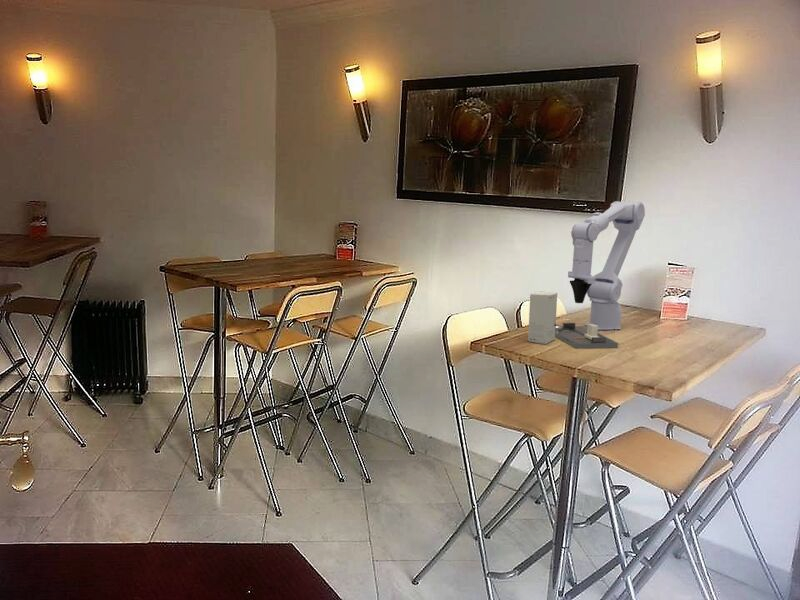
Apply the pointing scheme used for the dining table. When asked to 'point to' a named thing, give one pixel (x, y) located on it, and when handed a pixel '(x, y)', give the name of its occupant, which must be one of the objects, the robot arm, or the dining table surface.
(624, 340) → the dining table surface
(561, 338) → the console
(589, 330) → the block
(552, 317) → the skincare box
